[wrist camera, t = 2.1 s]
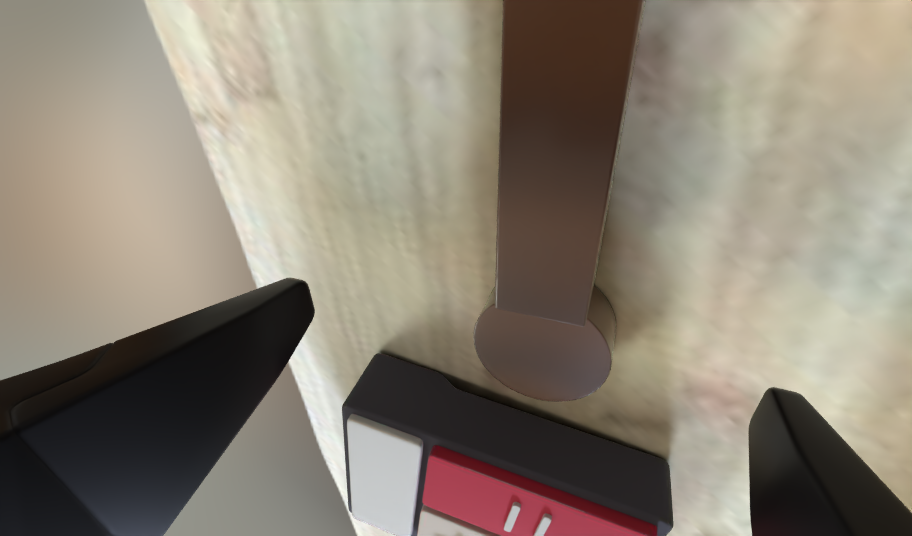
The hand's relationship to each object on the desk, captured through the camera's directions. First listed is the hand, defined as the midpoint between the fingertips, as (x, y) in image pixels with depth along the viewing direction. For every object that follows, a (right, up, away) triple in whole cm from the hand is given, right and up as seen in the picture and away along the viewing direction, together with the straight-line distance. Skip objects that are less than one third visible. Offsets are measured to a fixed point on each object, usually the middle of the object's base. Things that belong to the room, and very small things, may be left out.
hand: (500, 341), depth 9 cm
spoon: (+3, +4, +6) cm, 8 cm away
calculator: (+1, -9, +17) cm, 19 cm away
